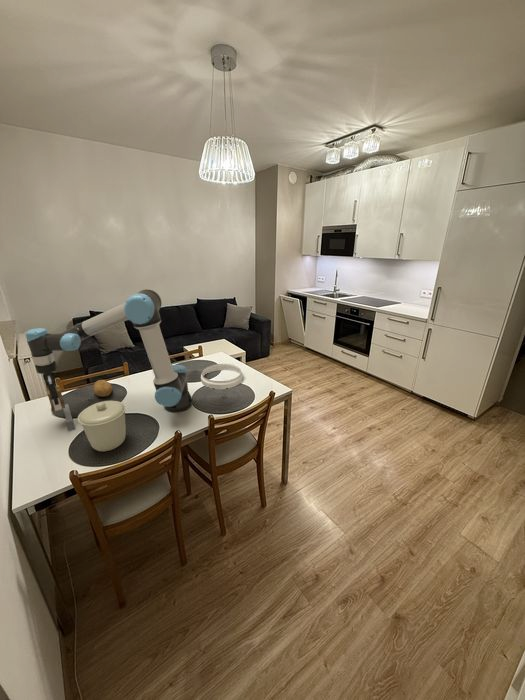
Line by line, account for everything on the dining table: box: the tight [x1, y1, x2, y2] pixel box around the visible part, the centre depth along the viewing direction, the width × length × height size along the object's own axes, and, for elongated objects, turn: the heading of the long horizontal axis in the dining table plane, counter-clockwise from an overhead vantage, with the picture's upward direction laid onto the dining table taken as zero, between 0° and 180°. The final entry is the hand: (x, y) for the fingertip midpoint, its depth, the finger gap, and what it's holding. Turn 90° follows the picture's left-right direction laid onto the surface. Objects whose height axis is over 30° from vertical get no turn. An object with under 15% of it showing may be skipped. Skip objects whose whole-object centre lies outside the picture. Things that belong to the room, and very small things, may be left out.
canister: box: [77, 400, 127, 452], centre depth 122 cm, size 18×18×21 cm
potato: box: [93, 379, 113, 397], centre depth 162 cm, size 10×14×8 cm
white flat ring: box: [200, 363, 243, 390], centre depth 183 cm, size 27×27×6 cm
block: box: [45, 385, 66, 412], centre depth 133 cm, size 5×5×10 cm
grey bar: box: [62, 403, 76, 432], centre depth 139 cm, size 18×2×5 cm, turn 39°
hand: (58, 406), depth 134 cm, fingers closed on block, 5 cm apart
